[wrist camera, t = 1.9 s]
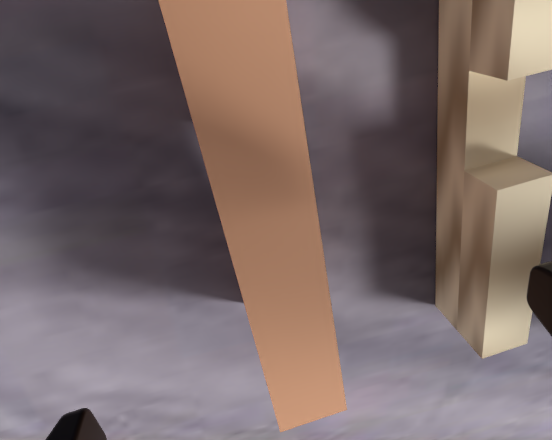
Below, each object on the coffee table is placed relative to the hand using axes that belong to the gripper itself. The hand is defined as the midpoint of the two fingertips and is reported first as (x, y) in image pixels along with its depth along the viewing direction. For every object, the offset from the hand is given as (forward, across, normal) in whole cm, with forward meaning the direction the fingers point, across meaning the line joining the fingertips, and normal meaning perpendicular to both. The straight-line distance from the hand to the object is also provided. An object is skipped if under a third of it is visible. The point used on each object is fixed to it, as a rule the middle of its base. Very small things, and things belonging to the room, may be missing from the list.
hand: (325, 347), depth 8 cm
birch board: (+10, -10, 0) cm, 14 cm away
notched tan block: (+10, 0, 0) cm, 10 cm away
